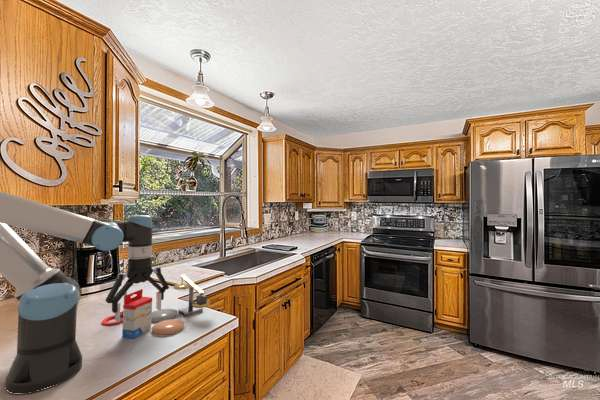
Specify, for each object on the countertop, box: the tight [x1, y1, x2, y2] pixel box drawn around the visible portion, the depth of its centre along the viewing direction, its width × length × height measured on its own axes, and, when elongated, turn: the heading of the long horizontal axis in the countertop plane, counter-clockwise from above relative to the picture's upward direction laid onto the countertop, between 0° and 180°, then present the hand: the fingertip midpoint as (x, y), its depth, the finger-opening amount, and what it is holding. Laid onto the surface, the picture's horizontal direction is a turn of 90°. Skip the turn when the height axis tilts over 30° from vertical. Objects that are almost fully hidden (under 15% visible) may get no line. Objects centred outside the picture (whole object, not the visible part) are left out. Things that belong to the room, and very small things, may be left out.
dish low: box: [151, 318, 185, 337], centre depth 100 cm, size 11×11×1 cm
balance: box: [173, 274, 211, 318], centre depth 115 cm, size 8×24×15 cm, turn 50°
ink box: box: [121, 288, 153, 340], centre depth 96 cm, size 8×5×15 cm, turn 168°
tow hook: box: [101, 291, 128, 327], centre depth 106 cm, size 8×13×9 cm
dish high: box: [151, 308, 178, 324], centre depth 110 cm, size 11×11×1 cm
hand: (139, 314), depth 97 cm, fingers open, 13 cm apart
